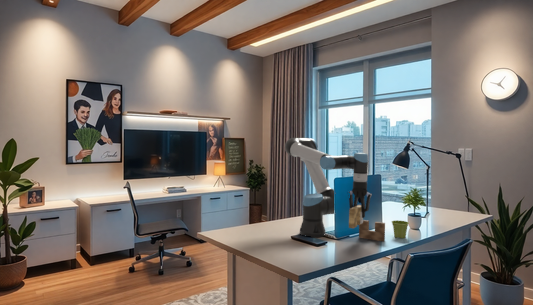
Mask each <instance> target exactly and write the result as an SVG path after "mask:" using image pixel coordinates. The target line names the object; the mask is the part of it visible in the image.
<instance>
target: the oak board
mask: <svg viewBox="0 0 533 305" xmlns="http://www.w3.org/2000/svg"><path fill="white" fill-rule="evenodd" d="M361 211H362V207H361V204H357V206H355V207H353V208H351V209H350V208H349V210H348V229H355V228H357V227H358V226H359V225H360V212H361Z"/></svg>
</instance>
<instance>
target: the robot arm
mask: <svg viewBox="0 0 533 305" xmlns="http://www.w3.org/2000/svg"><path fill="white" fill-rule="evenodd" d="M318 148H319V147H318V143H317V141H316V140H315V139H314V138H310V137H291V138H289V139H287V140H286V142H285V144H284V150H285V152H286V154H288V155H289V156H292V157H293V158H297V157H299V159H300V161H301V162H304V164H305V167H306V169H307V172H308V175H309V177H310V179H311V182H312V183H313V186H314V188H315V192H316V193H308V194H306V195H304V196H303V200H302V221H301V225H300V229H299V234H301V235H300V236H302V235H306V236H311V237H310V238H321V237H325V236H324V234H325V235H326V228H325V224H324V222H323V219H324V216H327V215H335V214H334V191H335V189H334V188H331V187H330V184H329V182H328V180H327V178H326V177H327V176H325V173H324V171H323V170H327V171H331V170H345V169H347V170H348V169H349V170H353V174H352V175H353V178H352V179H353V182H352V190H349V191H350V192H349V191H348V192H349V193H350V198H349V197H348V202H349V209H351V208H353V207H355V206H357V205H358V201H359V198H360V205H361V207H362V211H361V212H360V224H362V223H363V220H364V219H365V217H366V212H369V209H370V203H371V198H372V196H373V194H372V193H370V192H369V191H368V168H369V155H368V153H365V152H355V153H354V154H353V155H347V154H341V155H331V154H329V153H325V152H323V151H320V150H318ZM353 195H354V199H353ZM365 197H366V198H365ZM365 199H366V201H365ZM306 236H305V237H306Z"/></svg>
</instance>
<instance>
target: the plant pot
mask: <svg viewBox="0 0 533 305" xmlns="http://www.w3.org/2000/svg"><path fill="white" fill-rule="evenodd" d="M391 224H392V230H393V236H394V238H398V239H405V238H406V237H407V236H406V235H407V231H408V227H409V225H410V222H409V221H406V220H391Z"/></svg>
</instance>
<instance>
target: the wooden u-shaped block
mask: <svg viewBox="0 0 533 305" xmlns="http://www.w3.org/2000/svg"><path fill="white" fill-rule="evenodd" d="M385 231H386V223H385V222H381V221H375V222H374V230H372V229H370V220H366V219H363V223H362V224H360V225H358V238H360V239H365V240H366V239H367V240H371V241H372V240H373V241H378V242H385V241H386V240H385V239H386V237H385V236H386V232H385Z"/></svg>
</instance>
